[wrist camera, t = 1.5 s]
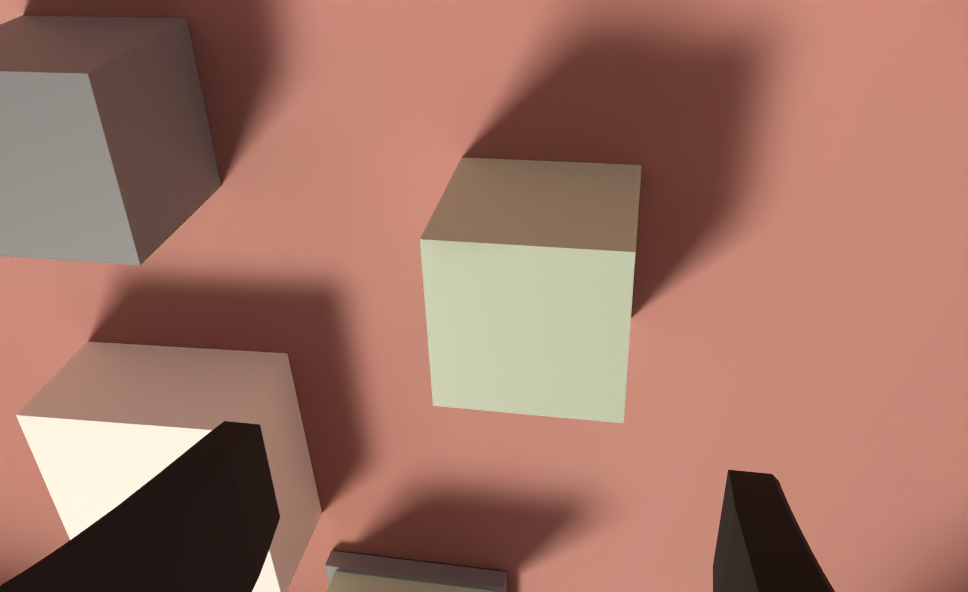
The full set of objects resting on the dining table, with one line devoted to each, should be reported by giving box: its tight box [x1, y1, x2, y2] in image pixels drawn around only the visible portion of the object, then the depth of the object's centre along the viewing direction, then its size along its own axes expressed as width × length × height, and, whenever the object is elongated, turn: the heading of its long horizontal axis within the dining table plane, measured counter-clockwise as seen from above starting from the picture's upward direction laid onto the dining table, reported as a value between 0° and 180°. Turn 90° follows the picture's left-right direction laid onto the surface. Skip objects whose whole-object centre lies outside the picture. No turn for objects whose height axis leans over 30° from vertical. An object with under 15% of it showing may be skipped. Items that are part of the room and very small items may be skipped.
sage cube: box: [420, 157, 642, 423], centre depth 19 cm, size 4×4×4 cm
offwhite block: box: [16, 342, 322, 592], centre depth 24 cm, size 6×6×4 cm
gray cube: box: [0, 15, 222, 265], centre depth 19 cm, size 4×4×4 cm
